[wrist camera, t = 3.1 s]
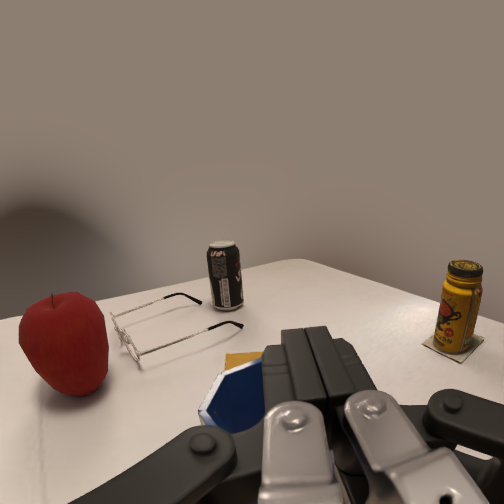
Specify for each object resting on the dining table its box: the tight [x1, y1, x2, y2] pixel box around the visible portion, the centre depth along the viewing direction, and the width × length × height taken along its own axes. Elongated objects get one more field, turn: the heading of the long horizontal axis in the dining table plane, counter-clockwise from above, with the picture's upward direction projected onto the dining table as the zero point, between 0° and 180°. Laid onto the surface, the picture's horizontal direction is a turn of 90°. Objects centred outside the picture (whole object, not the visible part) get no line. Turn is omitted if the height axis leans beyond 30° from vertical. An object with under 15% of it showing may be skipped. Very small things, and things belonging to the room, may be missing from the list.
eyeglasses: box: [110, 293, 244, 361], centre depth 46 cm, size 16×19×5 cm
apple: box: [19, 292, 109, 396], centre depth 30 cm, size 12×12×13 cm
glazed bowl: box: [198, 357, 336, 504], centre depth 20 cm, size 11×11×8 cm
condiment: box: [422, 260, 484, 362], centre depth 33 cm, size 7×8×12 cm
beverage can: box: [207, 240, 244, 310], centre depth 54 cm, size 6×6×12 cm
